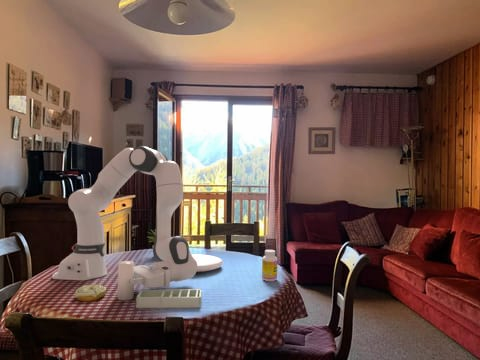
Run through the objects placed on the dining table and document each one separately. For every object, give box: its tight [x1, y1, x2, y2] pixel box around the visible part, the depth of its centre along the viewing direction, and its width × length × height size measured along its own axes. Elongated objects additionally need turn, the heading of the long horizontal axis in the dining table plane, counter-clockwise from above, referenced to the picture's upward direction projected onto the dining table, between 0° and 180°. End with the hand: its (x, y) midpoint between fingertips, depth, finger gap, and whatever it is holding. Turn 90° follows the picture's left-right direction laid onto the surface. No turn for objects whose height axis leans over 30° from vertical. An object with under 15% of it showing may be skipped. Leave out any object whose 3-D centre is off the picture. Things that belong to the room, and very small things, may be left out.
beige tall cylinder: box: [117, 260, 135, 301], centre depth 136 cm, size 6×6×13 cm
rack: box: [135, 288, 203, 309], centre depth 131 cm, size 22×9×4 cm, turn 94°
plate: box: [191, 253, 223, 273], centre depth 181 cm, size 28×6×27 cm
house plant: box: [147, 229, 156, 249], centre depth 205 cm, size 14×14×16 cm
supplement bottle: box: [261, 249, 278, 282], centre depth 163 cm, size 7×7×13 cm
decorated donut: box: [74, 284, 107, 302], centre depth 136 cm, size 10×11×4 cm
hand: (124, 279), depth 136 cm, fingers open, 8 cm apart
